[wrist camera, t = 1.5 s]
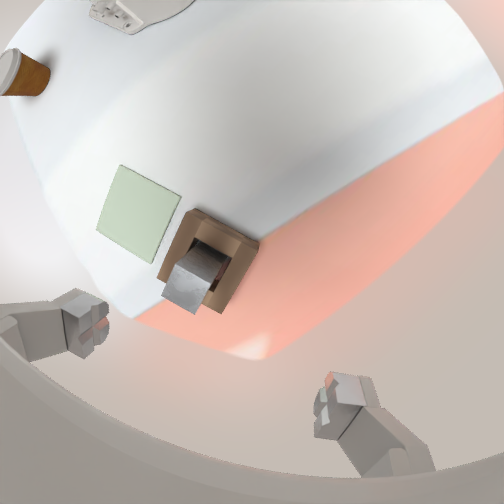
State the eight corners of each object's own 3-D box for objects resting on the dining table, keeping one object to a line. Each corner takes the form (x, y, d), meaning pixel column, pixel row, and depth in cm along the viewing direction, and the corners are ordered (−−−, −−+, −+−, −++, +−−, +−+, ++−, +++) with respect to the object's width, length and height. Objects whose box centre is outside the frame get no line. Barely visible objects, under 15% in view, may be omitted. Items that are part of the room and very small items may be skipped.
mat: (97, 229, 38) (95, 229, 38) (121, 164, 35) (119, 164, 35) (152, 263, 39) (150, 264, 38) (181, 196, 36) (179, 197, 35)
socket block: (167, 268, 39) (156, 277, 35) (195, 208, 36) (186, 211, 32) (226, 301, 40) (221, 314, 36) (259, 243, 37) (257, 251, 33)
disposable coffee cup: (34, 64, 30) (-3, 53, 19) (61, 56, 30) (21, 40, 19) (22, 105, 33) (-19, 100, 21) (47, 101, 33) (2, 93, 21)
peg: (192, 261, 38) (161, 295, 27) (204, 237, 37) (175, 263, 26) (217, 275, 39) (194, 314, 27) (229, 251, 38) (211, 283, 26)
